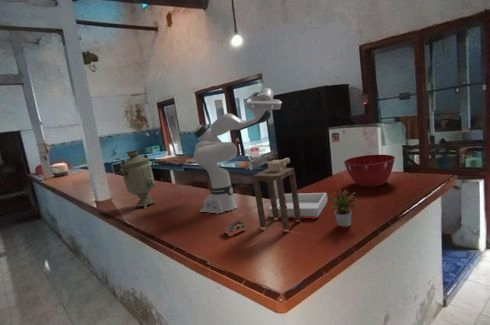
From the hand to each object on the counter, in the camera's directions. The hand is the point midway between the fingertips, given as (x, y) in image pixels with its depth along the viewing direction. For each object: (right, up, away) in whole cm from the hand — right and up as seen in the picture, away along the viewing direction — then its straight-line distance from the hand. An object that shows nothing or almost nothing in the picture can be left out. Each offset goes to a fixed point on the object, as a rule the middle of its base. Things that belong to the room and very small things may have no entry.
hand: (262, 109), depth 171 cm
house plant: (+33, -57, -39) cm, 77 cm away
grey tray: (+19, -54, -10) cm, 59 cm away
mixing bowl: (+66, -43, +14) cm, 80 cm away
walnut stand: (+7, -59, -28) cm, 66 cm away
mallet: (+8, -32, -26) cm, 42 cm away
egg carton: (-14, -63, -26) cm, 70 cm away
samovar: (-79, -61, +45) cm, 109 cm away
